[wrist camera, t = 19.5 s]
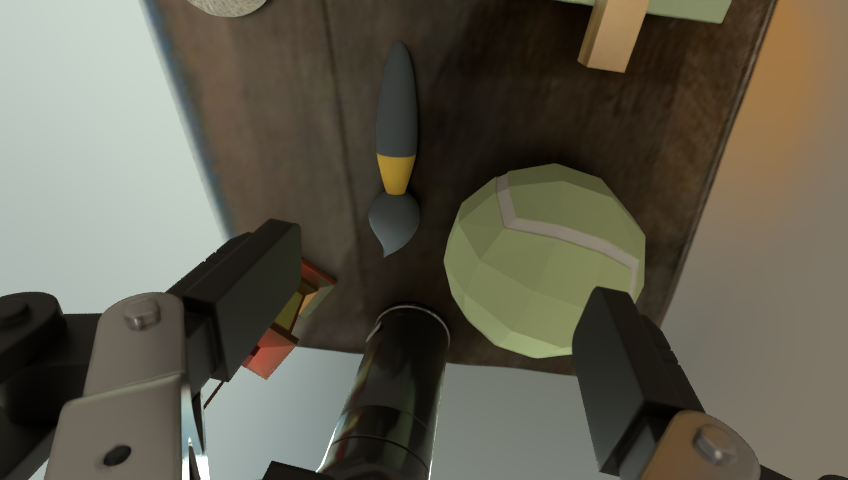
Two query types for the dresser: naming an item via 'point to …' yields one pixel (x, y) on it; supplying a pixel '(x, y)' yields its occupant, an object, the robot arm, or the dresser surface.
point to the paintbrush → (396, 153)
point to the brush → (612, 33)
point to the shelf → (682, 9)
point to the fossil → (228, 6)
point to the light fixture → (287, 323)
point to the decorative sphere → (540, 256)
